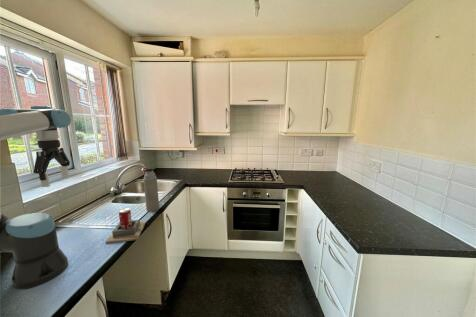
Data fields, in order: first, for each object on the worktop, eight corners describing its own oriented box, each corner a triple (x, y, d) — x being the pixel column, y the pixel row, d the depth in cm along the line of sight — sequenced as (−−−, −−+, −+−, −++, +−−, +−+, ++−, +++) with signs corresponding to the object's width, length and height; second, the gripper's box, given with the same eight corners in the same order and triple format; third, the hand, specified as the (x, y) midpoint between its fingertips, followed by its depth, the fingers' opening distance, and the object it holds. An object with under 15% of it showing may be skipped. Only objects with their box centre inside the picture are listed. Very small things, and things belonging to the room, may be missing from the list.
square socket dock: (137, 239, 94) (136, 232, 93) (105, 243, 91) (104, 235, 91) (145, 223, 110) (144, 216, 109) (119, 226, 107) (118, 219, 106)
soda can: (130, 226, 104) (127, 206, 102) (134, 230, 101) (131, 209, 98) (119, 230, 100) (117, 210, 98) (123, 234, 97) (120, 213, 94)
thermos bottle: (151, 205, 132) (148, 167, 127) (161, 206, 131) (158, 168, 126) (143, 211, 125) (139, 170, 119) (154, 212, 123) (150, 171, 118)
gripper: (57, 137, 101) (64, 175, 105) (14, 142, 77) (25, 191, 81) (74, 137, 102) (80, 174, 106) (36, 142, 78) (46, 190, 82)
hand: (56, 182), depth 93 cm, fingers open, 13 cm apart
